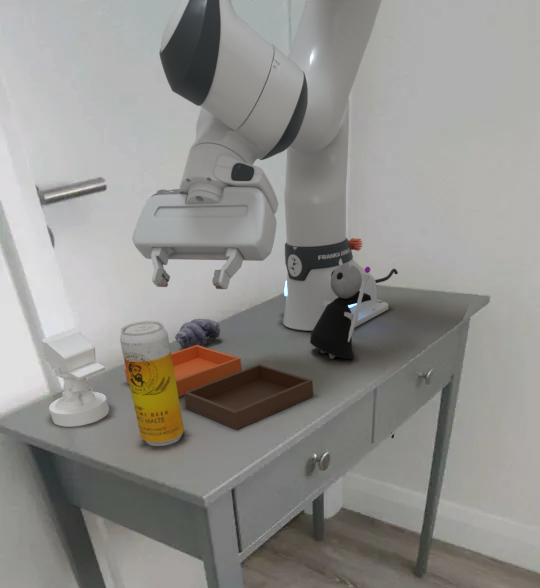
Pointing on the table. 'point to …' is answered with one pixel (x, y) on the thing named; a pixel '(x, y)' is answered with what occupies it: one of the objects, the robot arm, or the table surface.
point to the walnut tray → (248, 395)
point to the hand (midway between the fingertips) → (188, 285)
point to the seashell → (197, 332)
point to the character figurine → (74, 379)
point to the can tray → (200, 367)
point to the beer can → (152, 382)
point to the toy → (341, 312)
